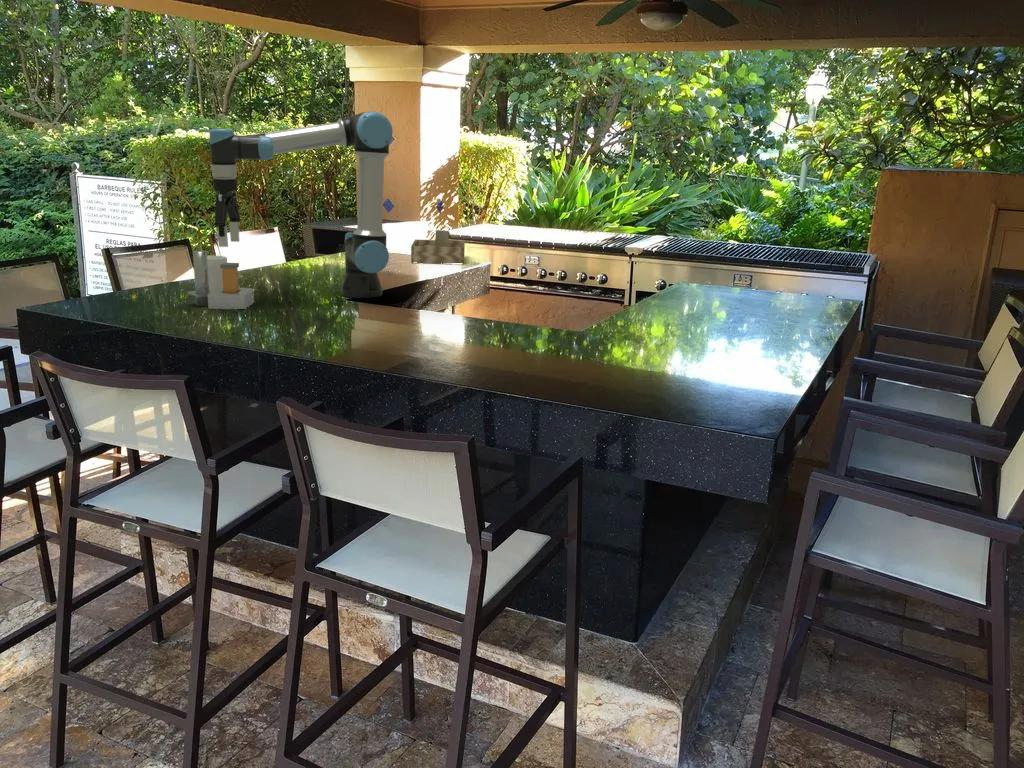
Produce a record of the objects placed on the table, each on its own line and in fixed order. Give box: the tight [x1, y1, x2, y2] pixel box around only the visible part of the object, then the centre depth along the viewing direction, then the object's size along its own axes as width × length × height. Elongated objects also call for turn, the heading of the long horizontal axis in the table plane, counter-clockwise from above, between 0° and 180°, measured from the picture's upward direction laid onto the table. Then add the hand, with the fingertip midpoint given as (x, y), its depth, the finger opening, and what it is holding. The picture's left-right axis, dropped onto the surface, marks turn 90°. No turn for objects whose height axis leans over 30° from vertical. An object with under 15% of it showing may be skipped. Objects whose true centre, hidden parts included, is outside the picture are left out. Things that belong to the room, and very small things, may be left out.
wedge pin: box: [220, 262, 240, 293], centre depth 287 cm, size 5×5×14 cm
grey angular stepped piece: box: [187, 250, 255, 310], centre depth 292 cm, size 20×24×18 cm
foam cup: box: [207, 255, 228, 291], centre depth 308 cm, size 10×9×13 cm
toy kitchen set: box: [425, 229, 452, 247], centre depth 412 cm, size 18×17×15 cm
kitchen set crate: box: [410, 239, 466, 265], centre depth 412 cm, size 24×26×8 cm
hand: (229, 244), depth 284 cm, fingers open, 13 cm apart
